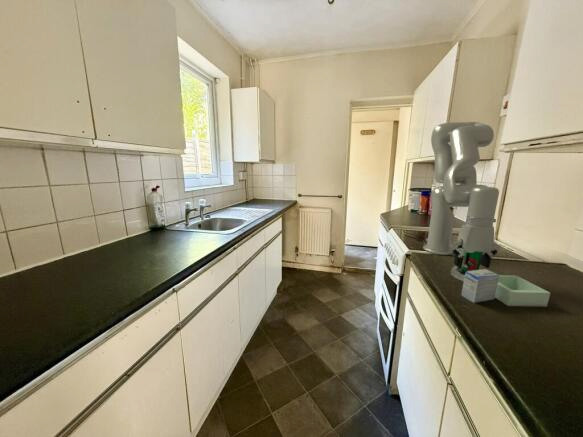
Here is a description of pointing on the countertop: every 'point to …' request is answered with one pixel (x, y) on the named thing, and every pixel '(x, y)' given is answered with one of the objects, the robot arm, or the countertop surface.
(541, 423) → the countertop surface
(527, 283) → the bin
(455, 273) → the collar
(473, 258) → the soda can
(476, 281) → the medicine box
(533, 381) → the countertop surface
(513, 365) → the countertop surface
